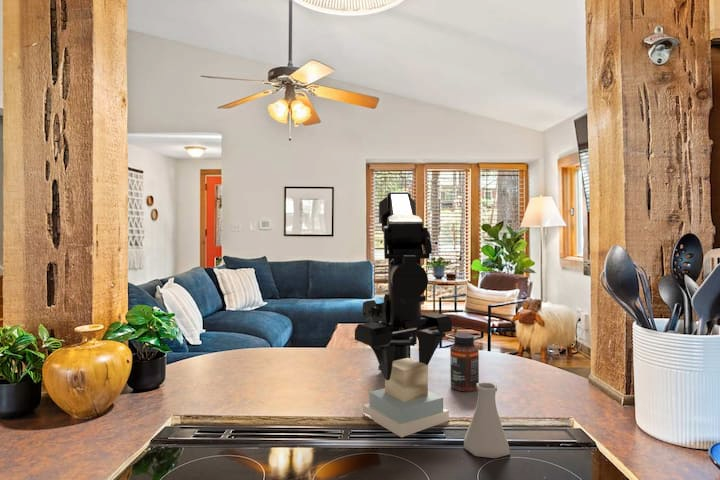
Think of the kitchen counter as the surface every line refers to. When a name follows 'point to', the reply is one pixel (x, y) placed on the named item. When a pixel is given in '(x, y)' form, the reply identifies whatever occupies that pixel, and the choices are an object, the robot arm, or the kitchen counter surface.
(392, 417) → the top block
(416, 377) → the maple cube
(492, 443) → the flask
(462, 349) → the supplement bottle
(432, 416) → the bottom block
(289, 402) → the kitchen counter surface
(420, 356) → the robot arm
